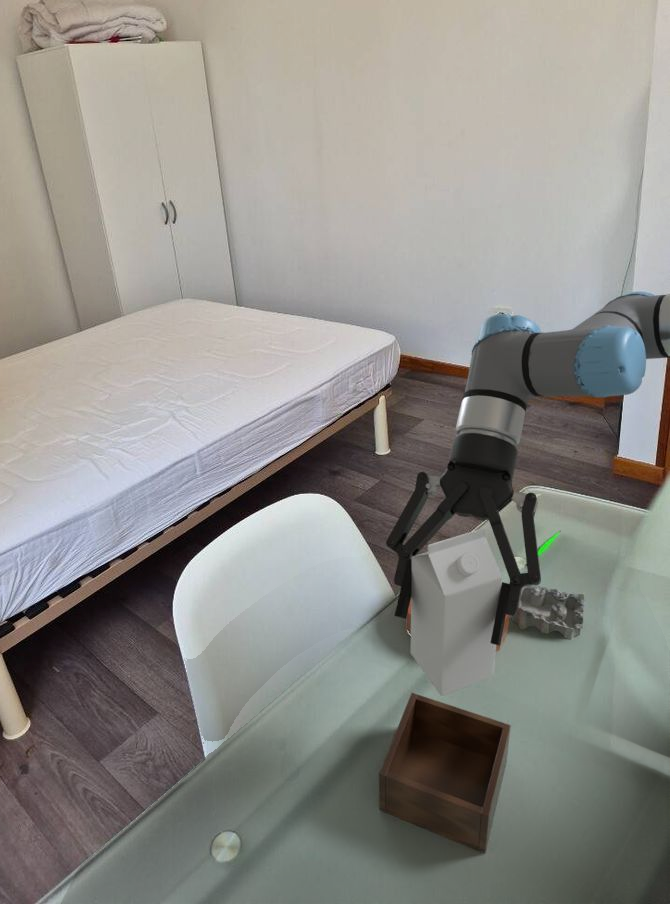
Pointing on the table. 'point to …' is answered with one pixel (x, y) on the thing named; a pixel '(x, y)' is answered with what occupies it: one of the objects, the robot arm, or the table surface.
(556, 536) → the leaf
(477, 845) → the box
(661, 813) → the table surface
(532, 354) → the robot arm
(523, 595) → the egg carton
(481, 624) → the milk carton
